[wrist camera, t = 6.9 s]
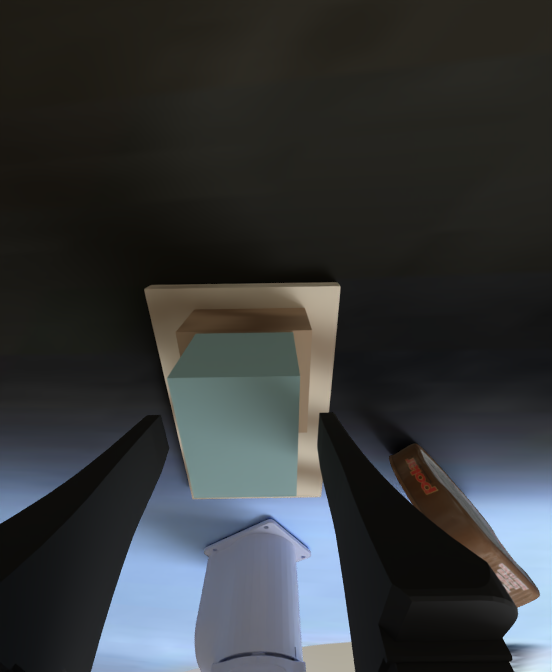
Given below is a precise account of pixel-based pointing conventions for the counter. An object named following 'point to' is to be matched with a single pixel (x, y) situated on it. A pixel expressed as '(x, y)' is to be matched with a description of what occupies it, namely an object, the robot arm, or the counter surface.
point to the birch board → (317, 298)
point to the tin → (458, 518)
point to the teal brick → (239, 413)
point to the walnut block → (257, 323)
